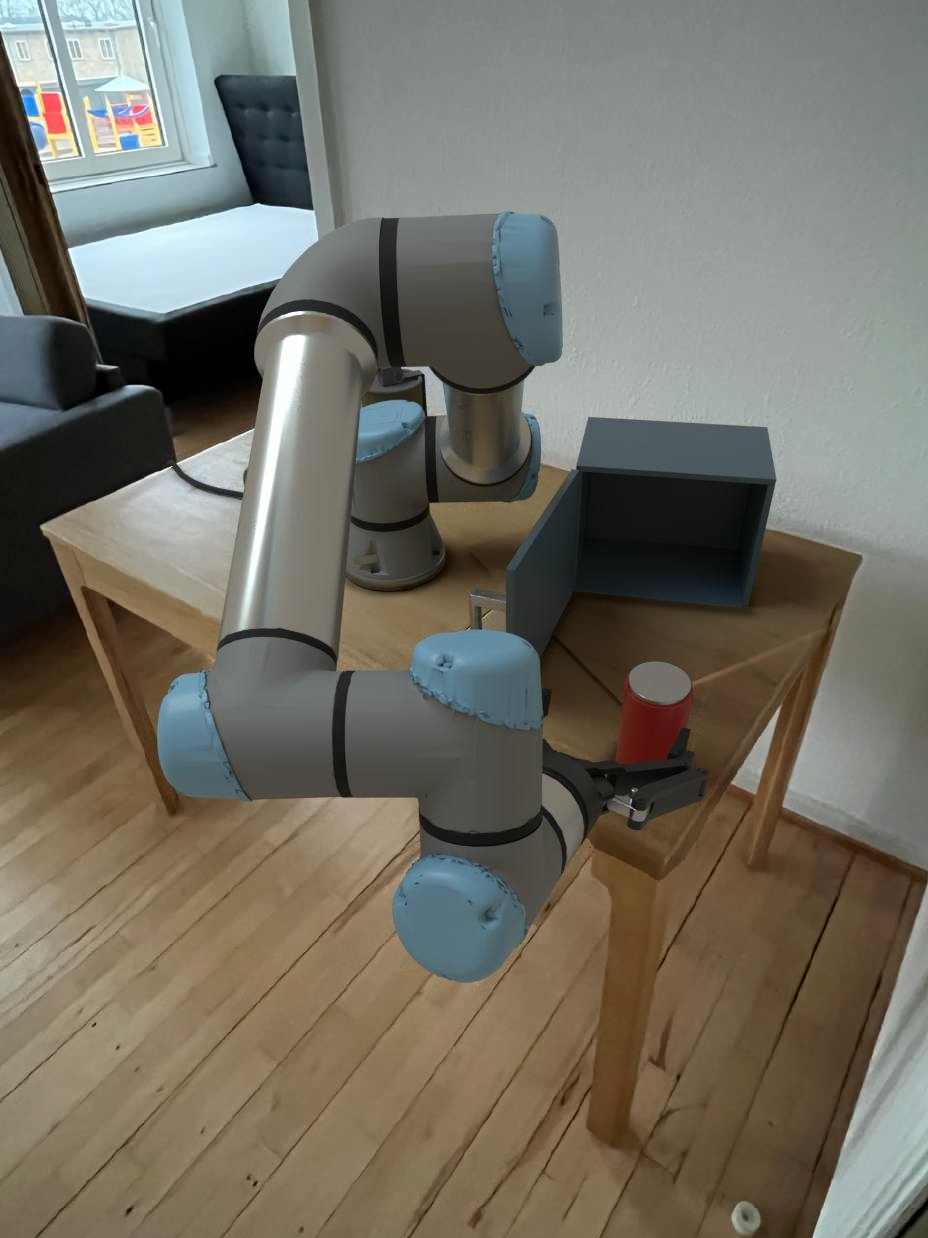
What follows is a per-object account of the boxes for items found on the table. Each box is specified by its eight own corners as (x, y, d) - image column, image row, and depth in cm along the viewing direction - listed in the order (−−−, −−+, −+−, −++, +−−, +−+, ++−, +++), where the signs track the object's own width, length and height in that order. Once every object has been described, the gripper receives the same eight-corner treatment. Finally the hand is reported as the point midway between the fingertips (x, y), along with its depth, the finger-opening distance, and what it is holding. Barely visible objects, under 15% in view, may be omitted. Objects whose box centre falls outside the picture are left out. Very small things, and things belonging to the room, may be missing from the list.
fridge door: (464, 696, 96) (458, 559, 84) (529, 588, 113) (531, 462, 102) (513, 709, 94) (514, 570, 82) (571, 597, 111) (579, 469, 100)
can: (610, 745, 89) (619, 660, 82) (670, 742, 89) (684, 657, 82) (622, 792, 84) (633, 705, 77) (685, 788, 84) (702, 702, 77)
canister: (380, 495, 137) (368, 379, 125) (361, 470, 144) (347, 358, 132) (440, 481, 140) (433, 367, 128) (417, 457, 148) (409, 347, 136)
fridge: (747, 612, 108) (776, 479, 96) (569, 594, 112) (576, 465, 100) (741, 552, 119) (767, 426, 107) (580, 538, 124) (588, 416, 112)
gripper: (383, 806, 65) (488, 719, 83) (698, 924, 55) (737, 796, 74) (392, 720, 62) (498, 651, 81) (722, 828, 53) (756, 721, 72)
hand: (612, 720), depth 78 cm, fingers open, 13 cm apart
